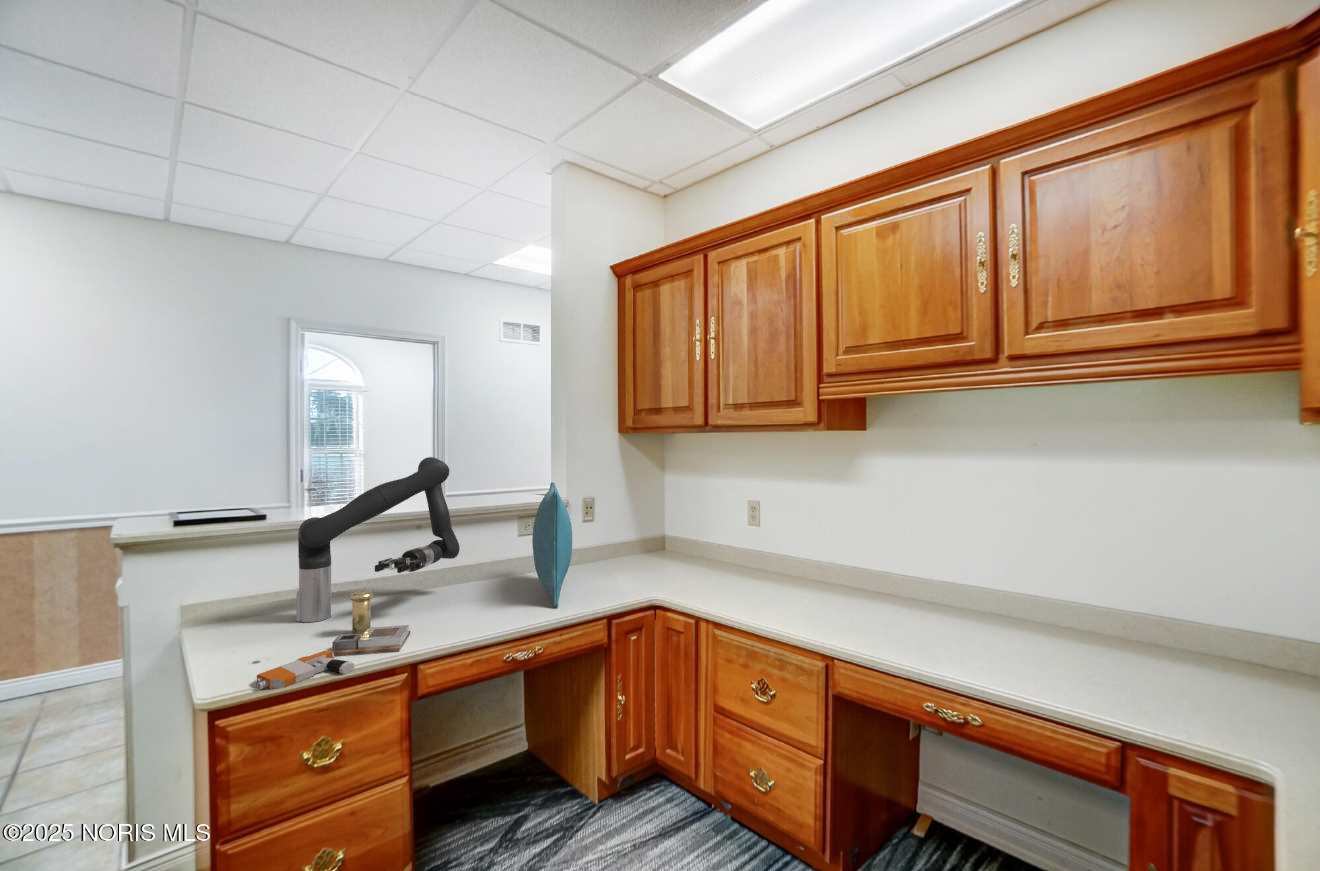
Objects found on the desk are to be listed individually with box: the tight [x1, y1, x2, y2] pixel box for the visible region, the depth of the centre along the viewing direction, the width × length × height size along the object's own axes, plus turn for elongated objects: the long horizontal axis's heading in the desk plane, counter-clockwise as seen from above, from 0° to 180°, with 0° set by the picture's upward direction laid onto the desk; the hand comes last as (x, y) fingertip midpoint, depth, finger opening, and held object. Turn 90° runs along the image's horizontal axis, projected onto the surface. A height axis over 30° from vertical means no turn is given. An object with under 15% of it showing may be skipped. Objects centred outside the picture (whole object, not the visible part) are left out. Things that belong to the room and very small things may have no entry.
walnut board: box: [330, 630, 411, 657], centre depth 168 cm, size 18×15×1 cm
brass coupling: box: [349, 590, 374, 634], centre depth 179 cm, size 6×6×12 cm
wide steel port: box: [358, 624, 410, 649], centre depth 168 cm, size 11×11×2 cm
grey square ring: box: [331, 633, 363, 651], centre depth 164 cm, size 6×6×2 cm
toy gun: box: [255, 650, 355, 690], centre depth 146 cm, size 3×19×15 cm
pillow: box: [531, 481, 573, 609], centre depth 224 cm, size 43×15×42 cm, turn 12°
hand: (386, 569), depth 190 cm, fingers open, 8 cm apart
